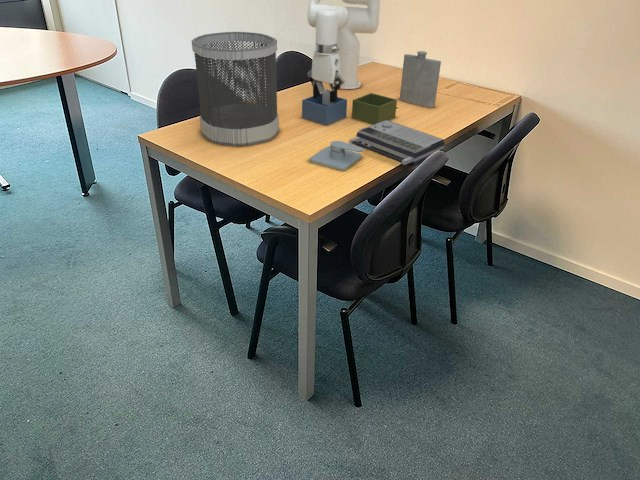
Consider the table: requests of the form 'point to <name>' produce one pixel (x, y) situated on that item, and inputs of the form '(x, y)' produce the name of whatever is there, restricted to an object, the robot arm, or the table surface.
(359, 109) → the bin
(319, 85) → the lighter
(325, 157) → the shower valve
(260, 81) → the wastebasket
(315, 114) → the bin
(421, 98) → the hip flask
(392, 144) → the radio
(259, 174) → the table surface
